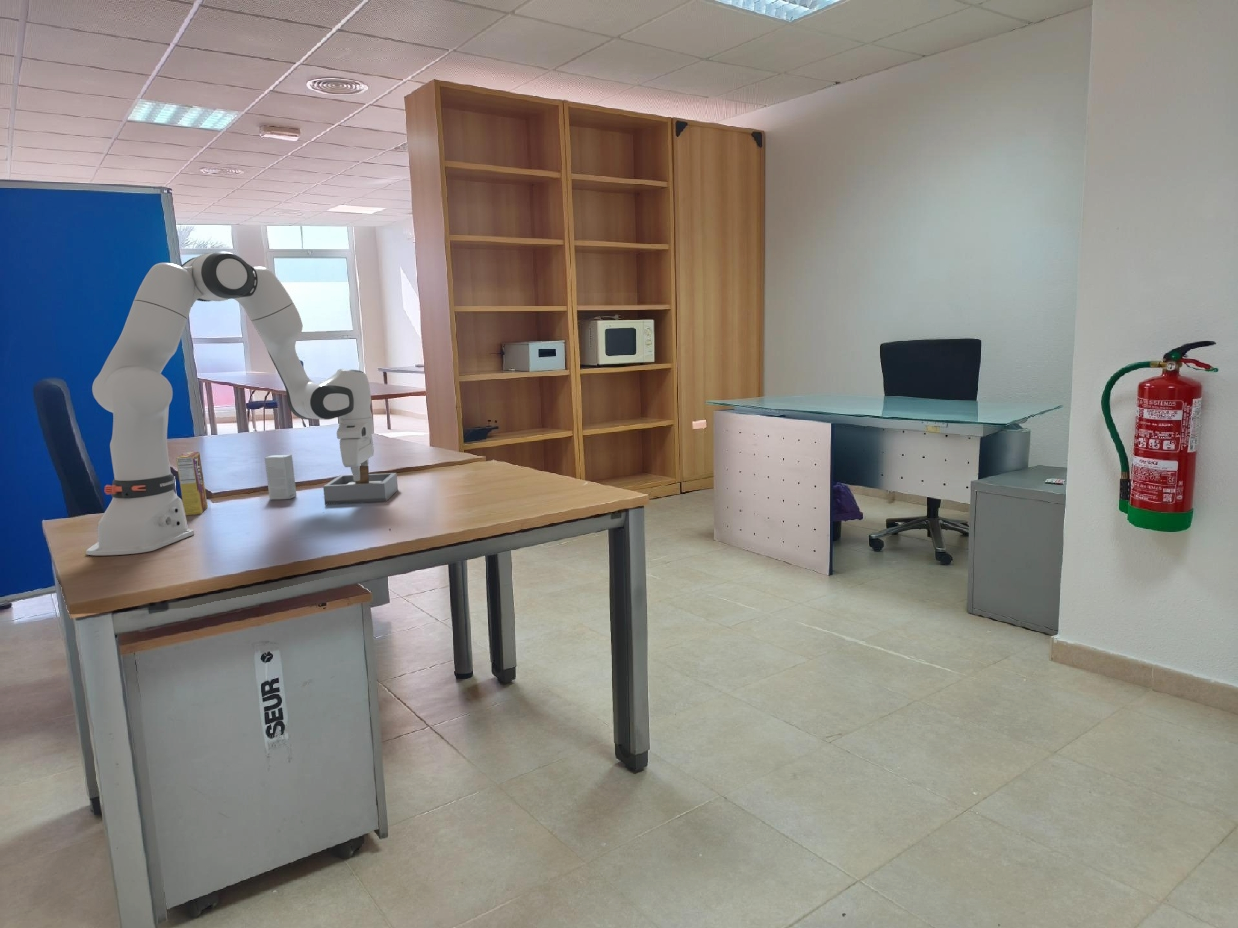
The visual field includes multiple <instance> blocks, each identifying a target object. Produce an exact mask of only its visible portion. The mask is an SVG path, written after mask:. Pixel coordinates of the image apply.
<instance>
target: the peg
mask: <svg viewBox="0 0 1238 928" xmlns="http://www.w3.org/2000/svg"><path fill="white" fill-rule="evenodd" d="M359 469H360V474H361V480H359V481H355V484H366V483H369V474H370V473H369V472H370V470H369V469H370V468H369V465H368V466H364V465H362V466H361V465H360V468H359Z"/></svg>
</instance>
